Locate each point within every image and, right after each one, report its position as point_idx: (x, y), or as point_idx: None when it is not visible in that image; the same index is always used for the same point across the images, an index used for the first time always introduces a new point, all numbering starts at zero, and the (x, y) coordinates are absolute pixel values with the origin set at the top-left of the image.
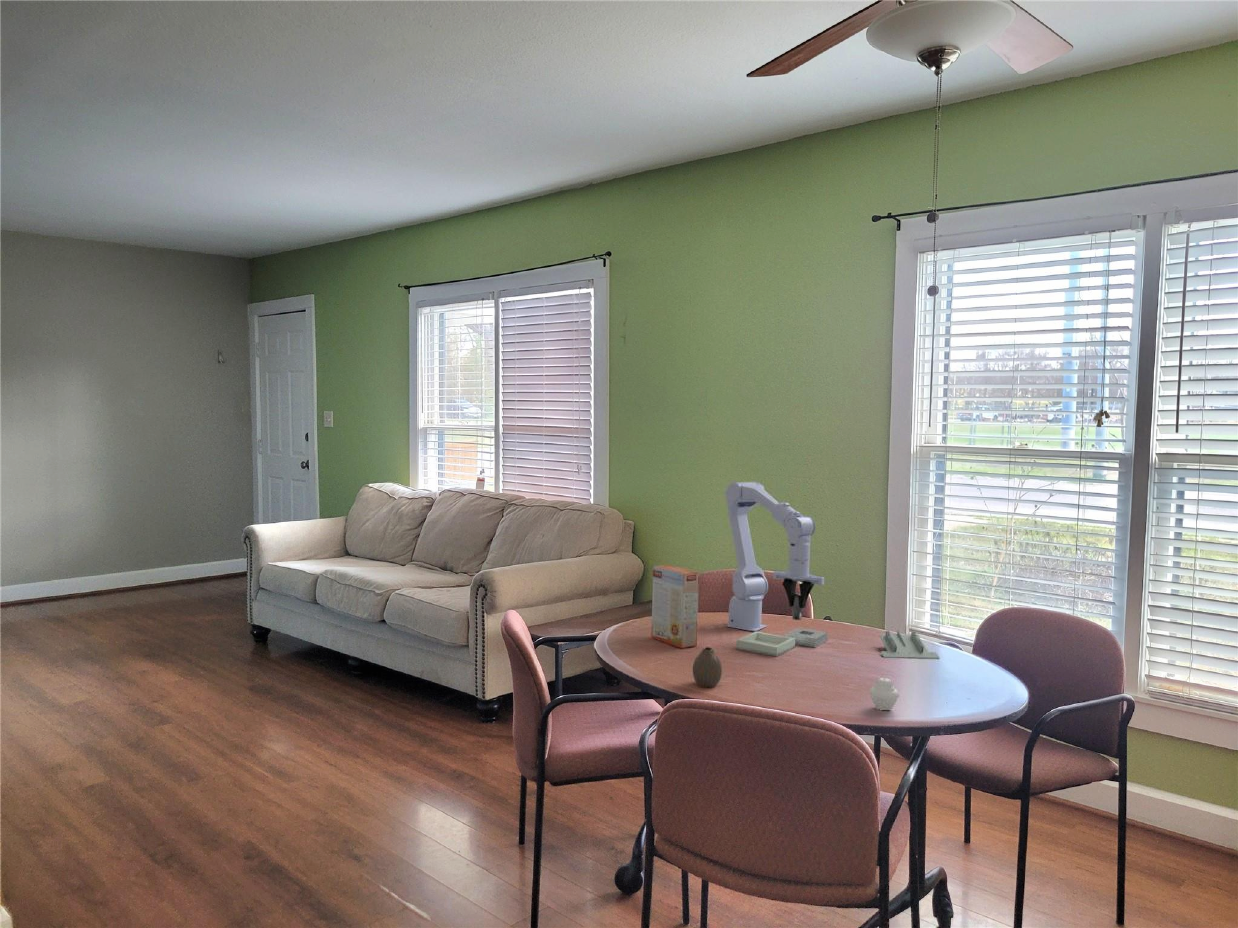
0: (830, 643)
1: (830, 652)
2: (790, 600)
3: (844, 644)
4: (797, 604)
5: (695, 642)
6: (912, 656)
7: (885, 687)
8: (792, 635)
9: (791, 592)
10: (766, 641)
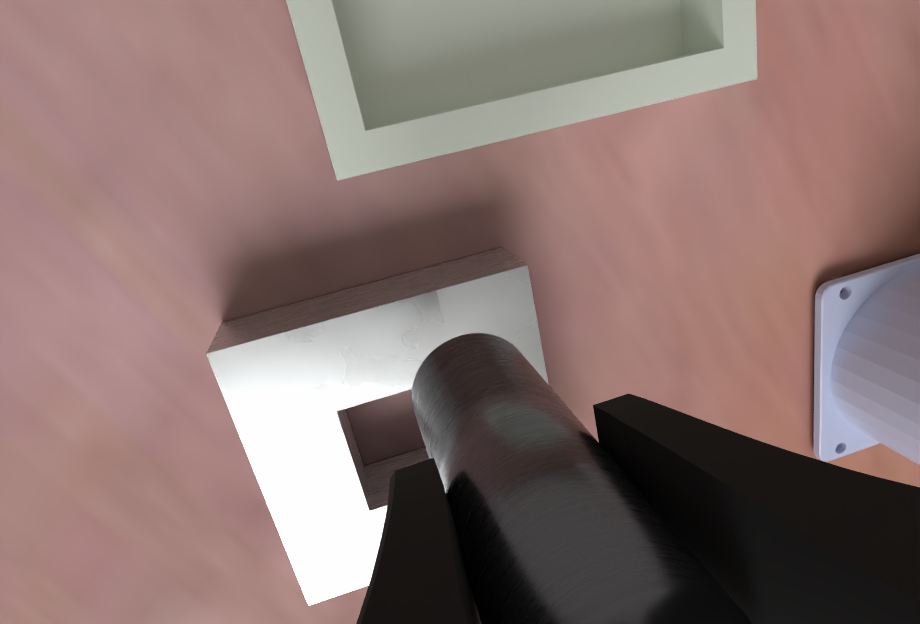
0: (241, 521)
1: (4, 306)
2: (673, 438)
3: (153, 590)
4: (499, 465)
5: None
6: None
7: None
8: (452, 282)
9: (812, 601)
10: (586, 56)
